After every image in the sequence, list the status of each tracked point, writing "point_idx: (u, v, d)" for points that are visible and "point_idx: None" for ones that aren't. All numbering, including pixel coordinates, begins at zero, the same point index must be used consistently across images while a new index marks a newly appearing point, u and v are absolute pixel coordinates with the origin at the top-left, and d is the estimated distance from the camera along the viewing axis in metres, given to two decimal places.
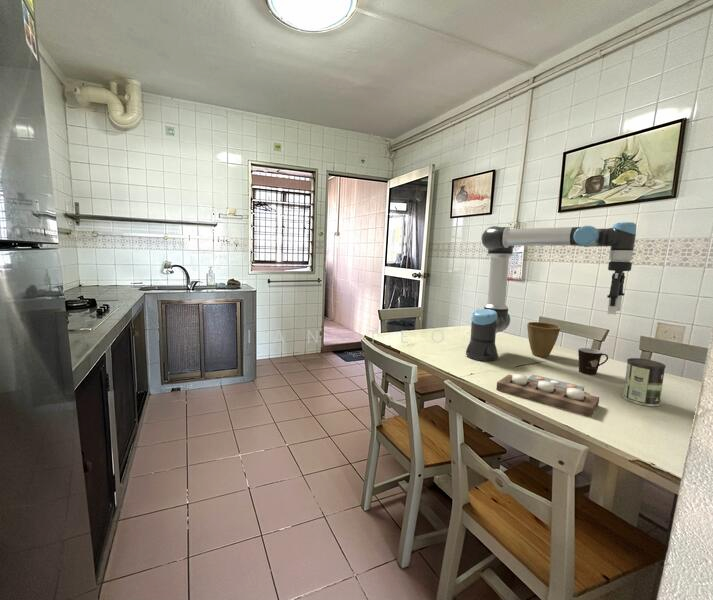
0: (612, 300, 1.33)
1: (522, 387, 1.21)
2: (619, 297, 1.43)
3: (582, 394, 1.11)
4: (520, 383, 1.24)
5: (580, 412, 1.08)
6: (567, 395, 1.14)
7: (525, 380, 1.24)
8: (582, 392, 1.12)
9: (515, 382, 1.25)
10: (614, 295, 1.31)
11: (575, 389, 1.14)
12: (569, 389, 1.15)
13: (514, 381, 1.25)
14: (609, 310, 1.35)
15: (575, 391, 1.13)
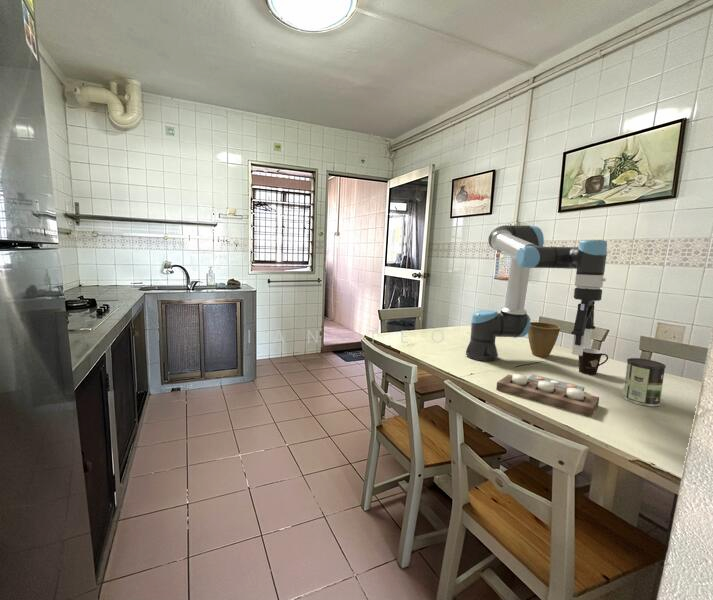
0: (577, 338, 1.06)
1: (522, 387, 1.21)
2: (589, 331, 1.16)
3: (582, 394, 1.11)
4: (520, 383, 1.24)
5: (580, 412, 1.08)
6: (567, 395, 1.14)
7: (525, 380, 1.24)
8: (582, 392, 1.12)
9: (515, 382, 1.25)
10: (579, 332, 1.04)
11: (575, 389, 1.14)
12: (569, 389, 1.15)
13: (514, 381, 1.25)
14: (574, 350, 1.07)
15: (575, 391, 1.13)
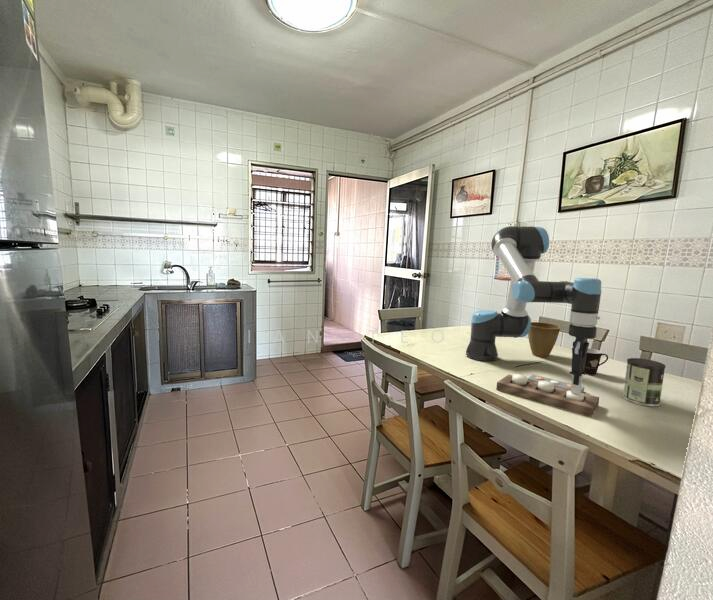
0: (575, 378, 1.12)
1: (522, 387, 1.21)
2: None
3: (582, 397, 1.12)
4: (520, 383, 1.24)
5: (580, 412, 1.08)
6: None
7: (525, 380, 1.24)
8: (582, 395, 1.12)
9: (515, 382, 1.25)
10: (577, 374, 1.10)
11: None
12: (569, 392, 1.15)
13: (514, 381, 1.25)
14: (572, 388, 1.13)
15: (575, 394, 1.13)
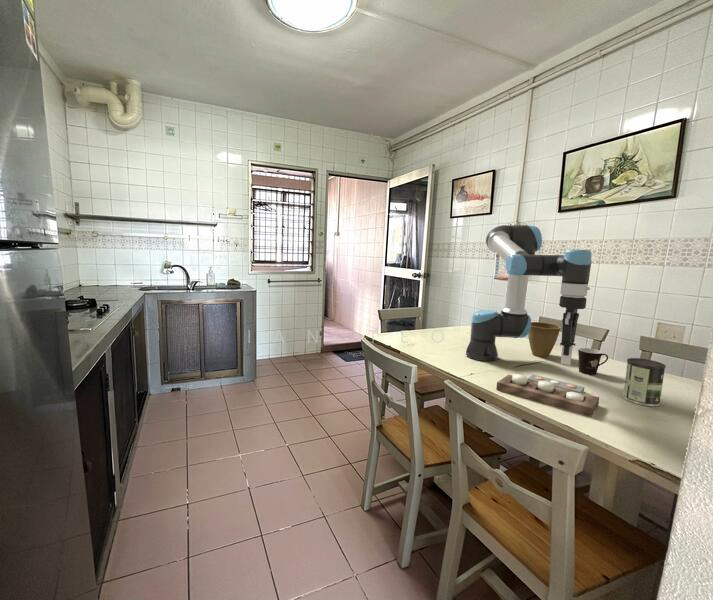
0: (565, 348, 1.13)
1: (522, 387, 1.21)
2: None
3: (582, 398, 1.12)
4: (520, 383, 1.24)
5: (580, 412, 1.08)
6: None
7: (525, 380, 1.24)
8: (582, 396, 1.12)
9: (515, 382, 1.25)
10: (567, 344, 1.11)
11: (575, 394, 1.14)
12: (569, 393, 1.15)
13: (514, 381, 1.25)
14: (562, 359, 1.15)
15: (575, 395, 1.13)
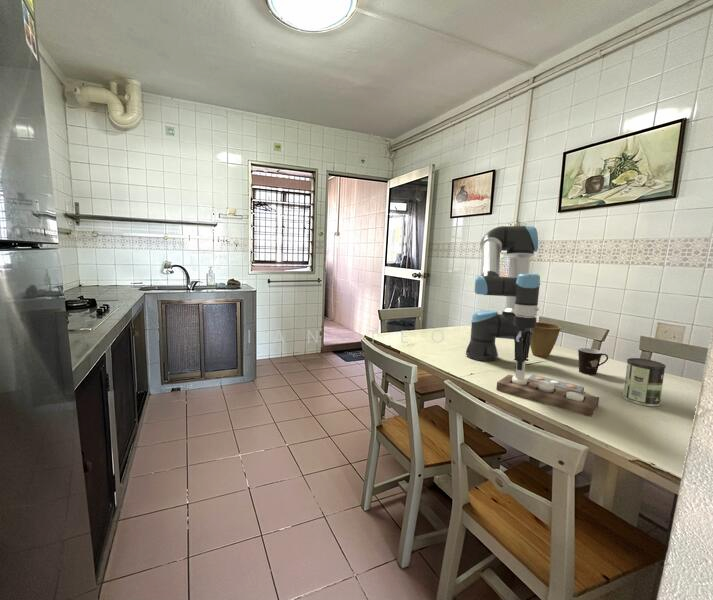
0: (518, 364, 1.24)
1: (522, 387, 1.21)
2: None
3: (582, 398, 1.12)
4: None
5: (580, 412, 1.08)
6: None
7: (525, 382, 1.24)
8: (582, 396, 1.12)
9: None
10: (519, 360, 1.22)
11: (575, 394, 1.14)
12: (569, 393, 1.15)
13: (514, 383, 1.25)
14: (517, 373, 1.26)
15: (575, 395, 1.13)
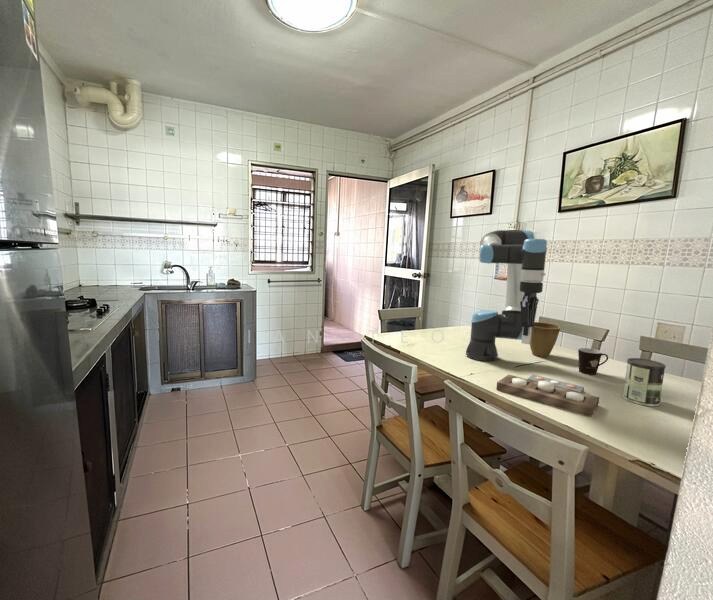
0: (524, 329, 1.25)
1: (522, 387, 1.21)
2: None
3: (582, 398, 1.12)
4: None
5: (580, 412, 1.08)
6: None
7: (525, 384, 1.24)
8: (582, 396, 1.12)
9: None
10: (525, 325, 1.23)
11: (575, 394, 1.14)
12: (569, 393, 1.15)
13: None
14: (523, 339, 1.27)
15: (575, 395, 1.13)
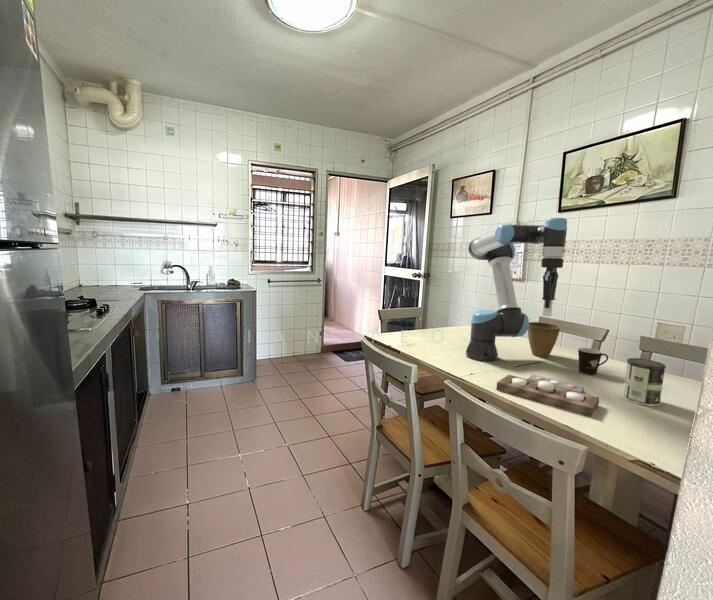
0: (546, 302, 1.35)
1: (522, 387, 1.21)
2: None
3: (582, 398, 1.12)
4: None
5: (580, 412, 1.08)
6: None
7: (525, 384, 1.24)
8: (582, 396, 1.12)
9: None
10: (547, 298, 1.33)
11: (575, 394, 1.14)
12: (569, 393, 1.15)
13: None
14: (544, 312, 1.37)
15: (575, 395, 1.13)
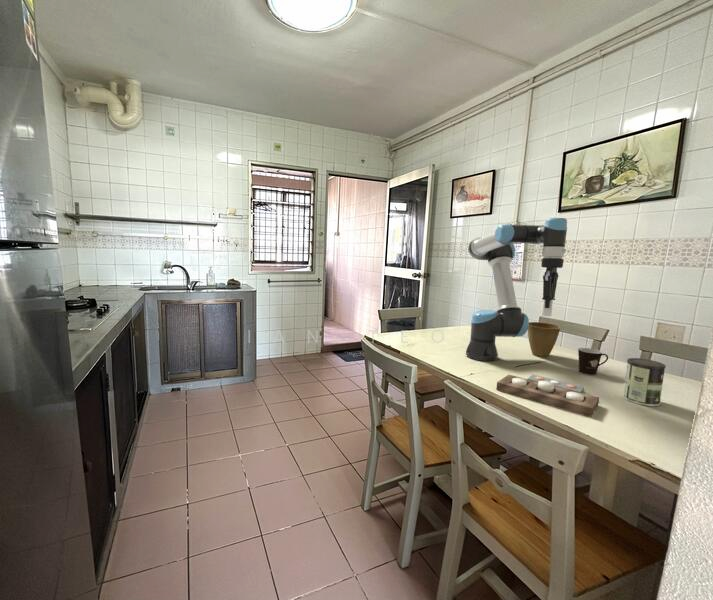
0: (546, 302, 1.35)
1: (522, 387, 1.21)
2: None
3: (582, 398, 1.12)
4: None
5: (580, 412, 1.08)
6: None
7: (525, 384, 1.24)
8: (582, 396, 1.12)
9: None
10: (547, 298, 1.33)
11: (575, 394, 1.14)
12: (569, 393, 1.15)
13: None
14: (544, 312, 1.37)
15: (575, 395, 1.13)
